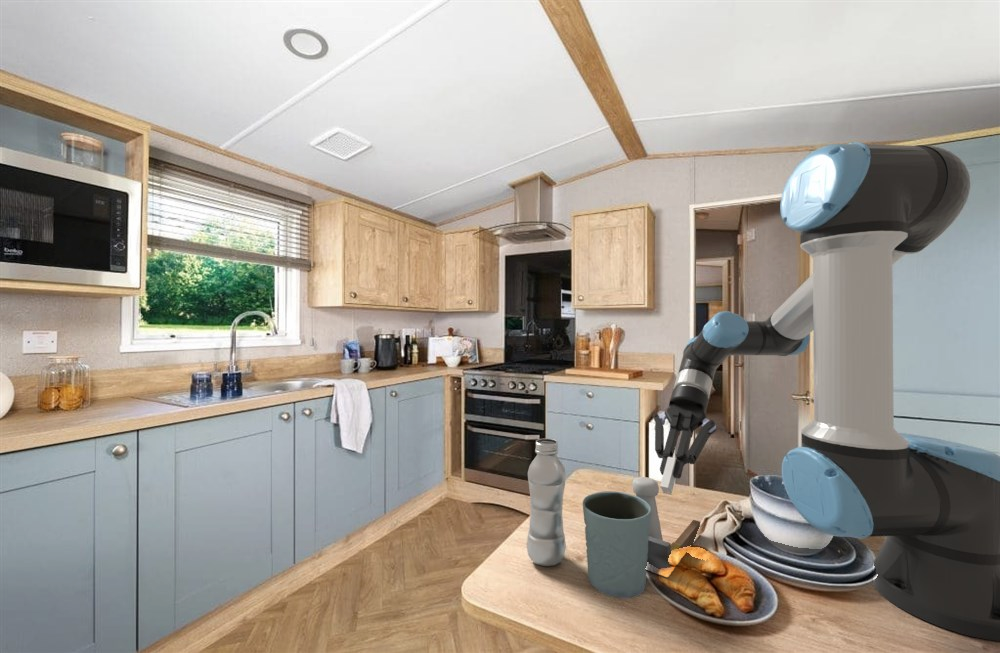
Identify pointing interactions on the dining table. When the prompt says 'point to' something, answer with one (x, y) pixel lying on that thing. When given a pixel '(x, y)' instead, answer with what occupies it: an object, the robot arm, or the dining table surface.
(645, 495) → the salt shaker
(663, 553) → the dark grey angled piece
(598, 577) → the green cup
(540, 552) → the plastic bottle
